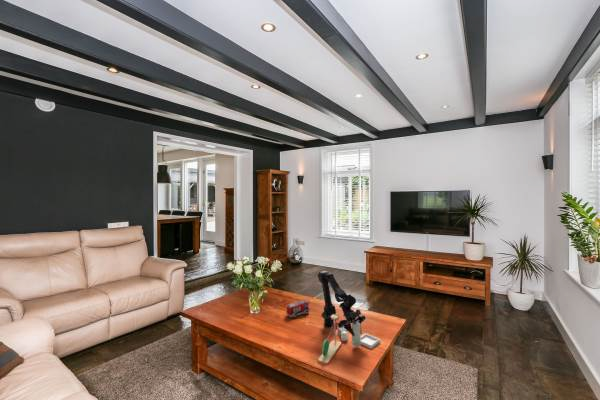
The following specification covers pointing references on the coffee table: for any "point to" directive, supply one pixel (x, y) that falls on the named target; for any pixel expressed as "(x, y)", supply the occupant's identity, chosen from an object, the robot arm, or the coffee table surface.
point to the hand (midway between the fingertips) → (357, 335)
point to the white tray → (369, 340)
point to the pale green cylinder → (356, 334)
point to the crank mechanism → (330, 345)
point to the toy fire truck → (298, 308)
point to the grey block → (341, 330)
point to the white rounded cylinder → (344, 336)
